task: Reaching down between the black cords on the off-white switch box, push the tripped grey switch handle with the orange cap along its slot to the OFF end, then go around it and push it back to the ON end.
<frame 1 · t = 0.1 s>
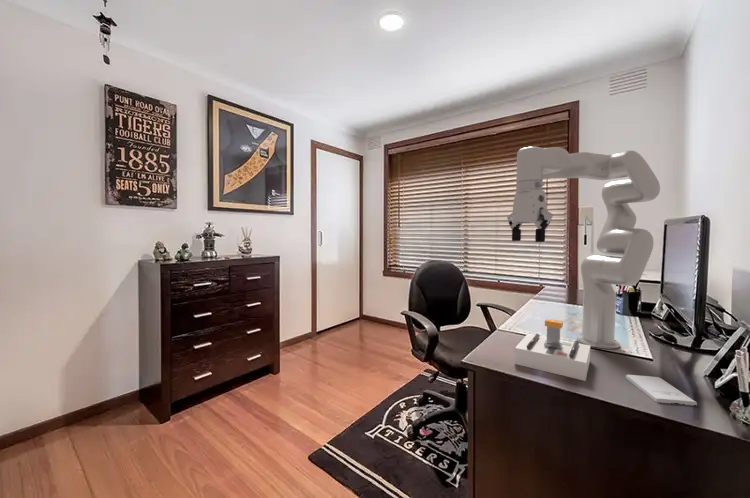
hand: (527, 241, 101), 37 cm above the table, tool pointing down, fingers open, 9 cm apart
external hard drive: (658, 393, 80), on the table
switch box: (552, 362, 97), on the table
switch handle: (553, 333, 96), point 9 cm above the table, slide at 0.0 cm
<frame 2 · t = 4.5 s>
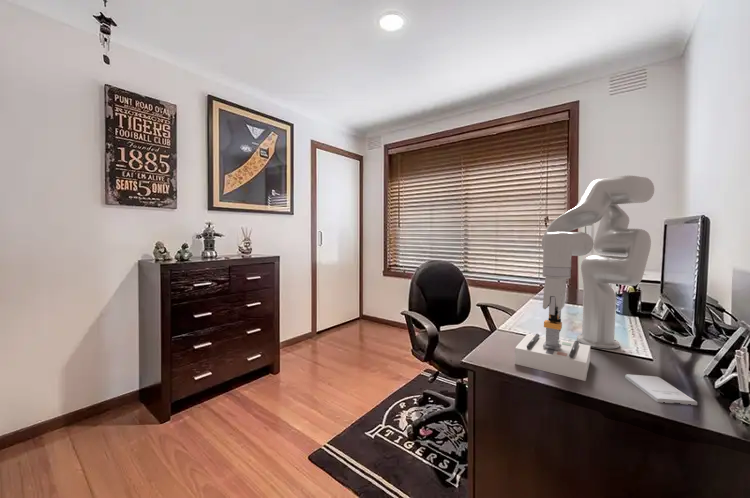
hand: (554, 330, 98), 9 cm above the table, tool pointing down, fingers closed
switch handle: (552, 334, 95), point 9 cm above the table, slide at 1.6 cm, touching gripper
everything else where it was.
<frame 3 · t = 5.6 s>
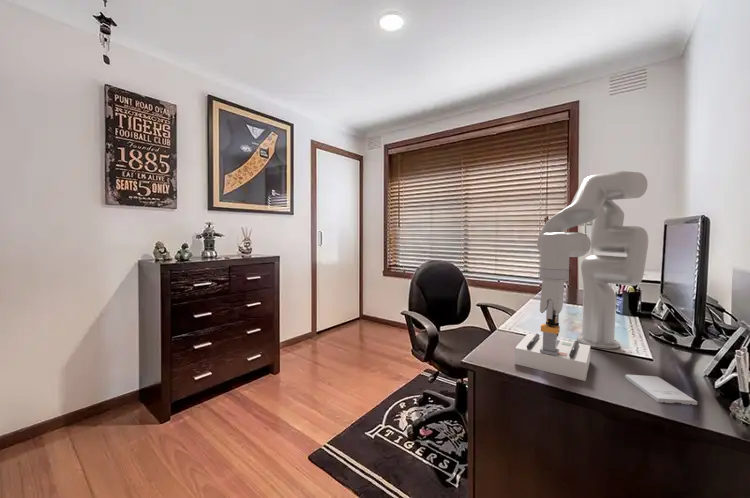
hand: (552, 335, 94), 9 cm above the table, tool pointing down, fingers closed
switch handle: (549, 339, 91), point 9 cm above the table, slide at 6.4 cm, touching gripper
everything else where it was.
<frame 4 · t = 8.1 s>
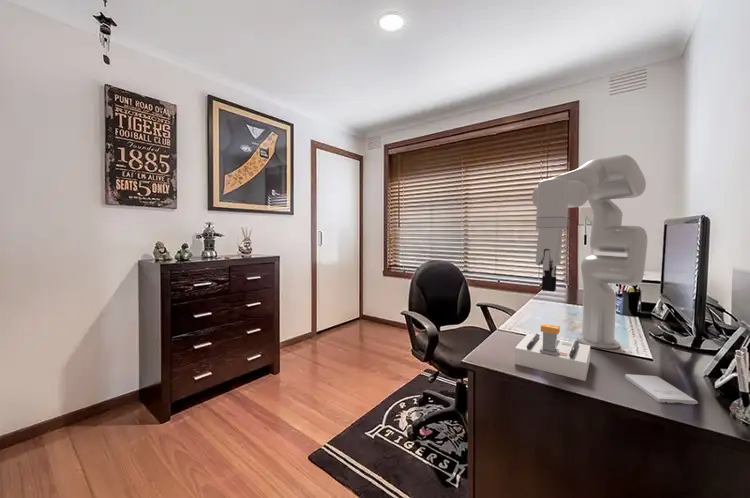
hand: (548, 290, 88), 24 cm above the table, tool pointing down, fingers closed
switch handle: (549, 339, 91), point 9 cm above the table, slide at 6.5 cm
everything else where it was.
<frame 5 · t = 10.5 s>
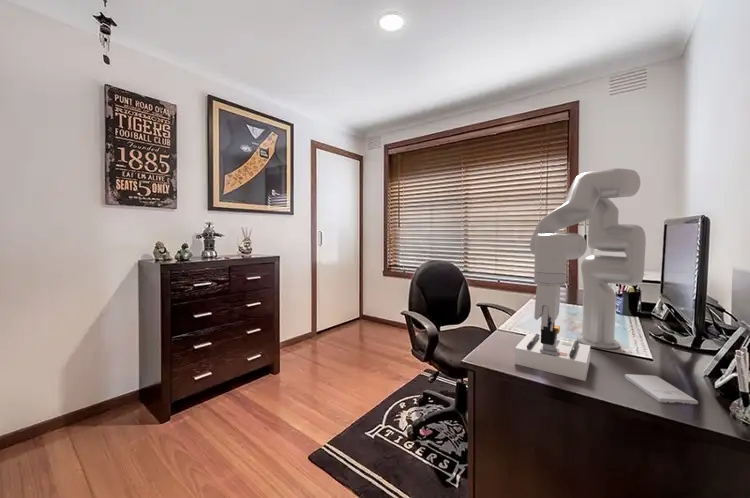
hand: (547, 343, 88), 9 cm above the table, tool pointing down, fingers closed
switch handle: (549, 338, 91), point 9 cm above the table, slide at 6.2 cm, touching gripper
everything else where it was.
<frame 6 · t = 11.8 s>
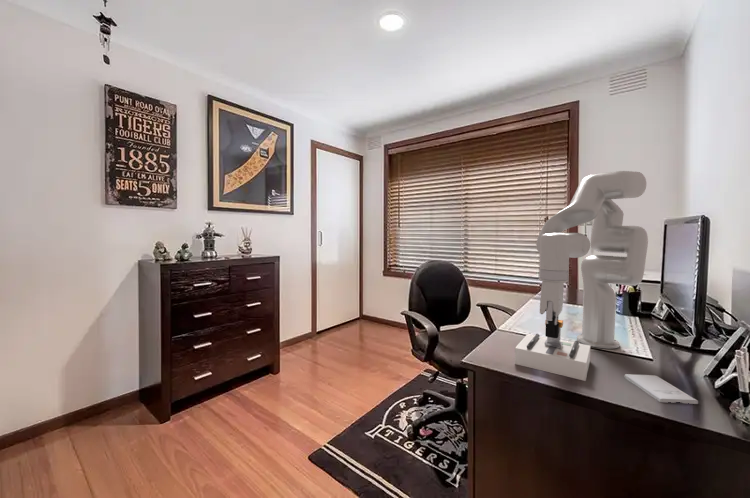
hand: (551, 336, 94), 9 cm above the table, tool pointing down, fingers closed
switch handle: (553, 332, 97), point 9 cm above the table, slide at -0.9 cm, touching gripper
everything else where it was.
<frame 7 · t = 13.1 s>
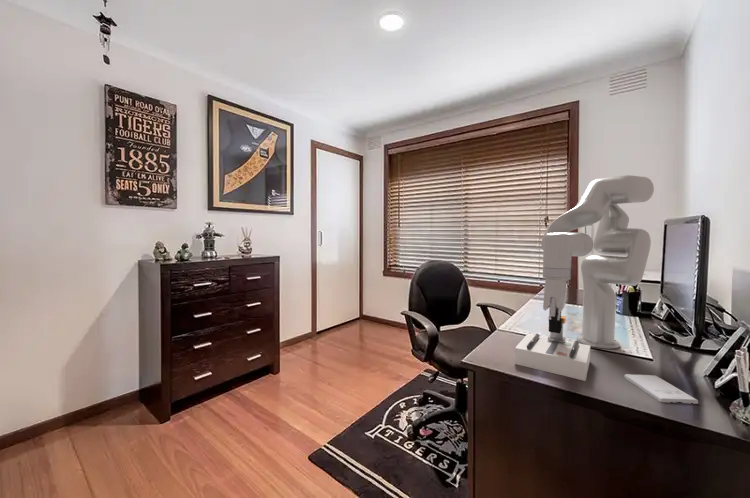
hand: (554, 331, 98), 9 cm above the table, tool pointing down, fingers closed
switch handle: (556, 328, 101), point 9 cm above the table, slide at -6.3 cm, touching gripper
everything else where it was.
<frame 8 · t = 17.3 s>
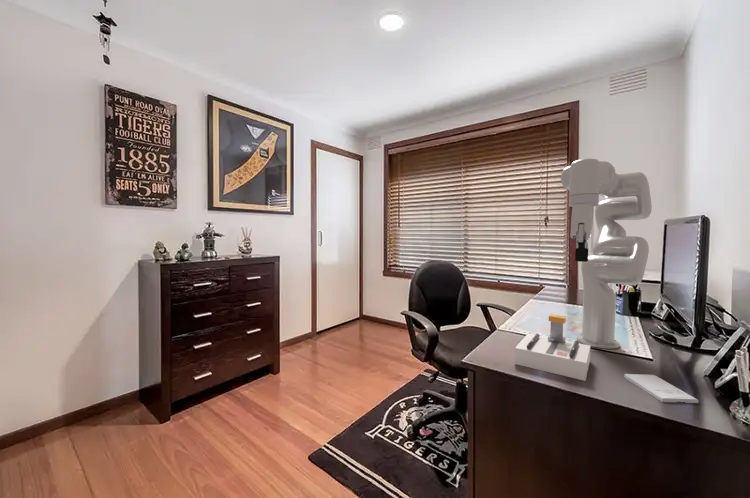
hand: (581, 261, 97), 31 cm above the table, tool pointing down, fingers closed
switch handle: (556, 328, 101), point 9 cm above the table, slide at -6.5 cm
everything else where it was.
at the end: switch handle slide at -6.5 cm; external hard drive moved 1.2 cm from its start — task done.
